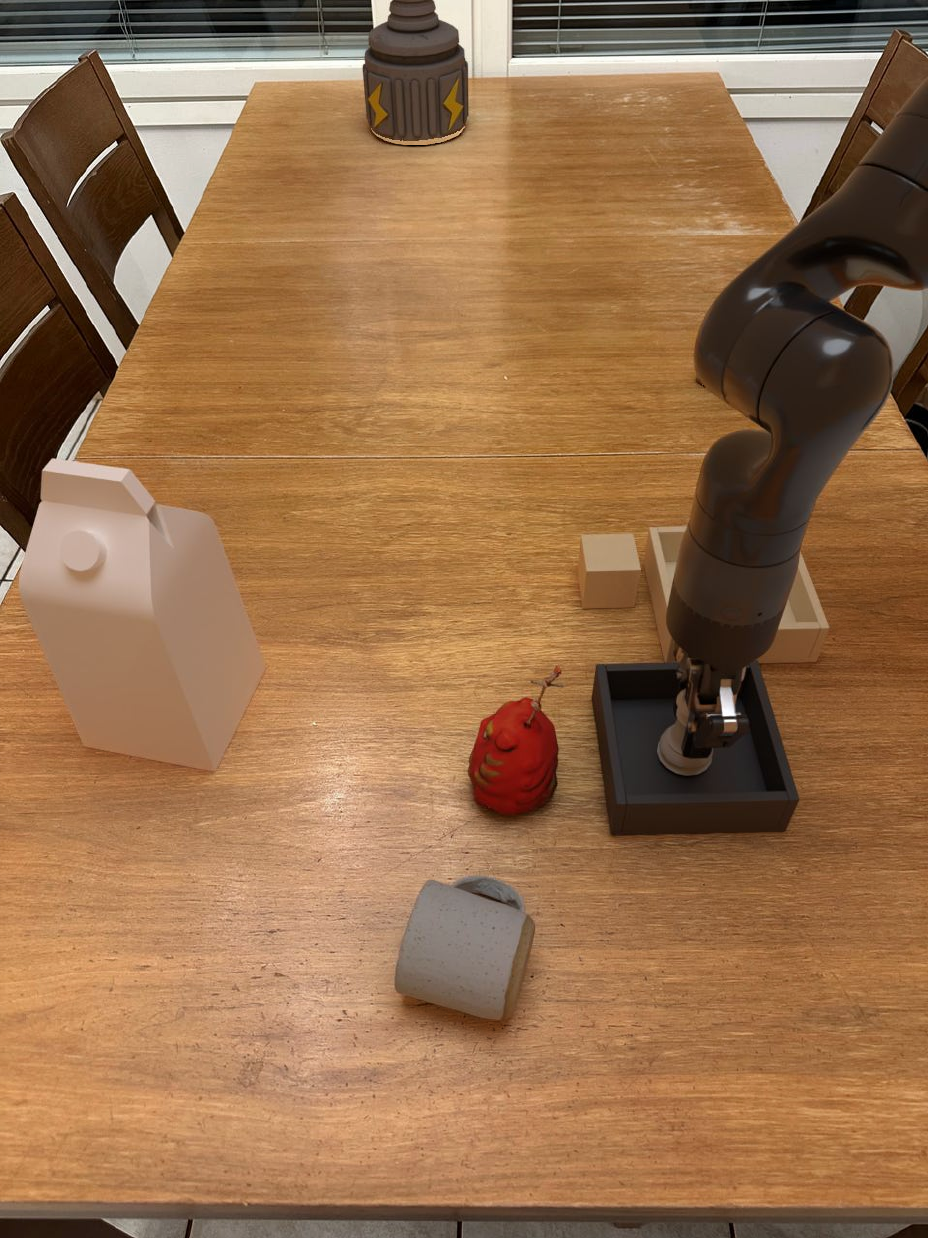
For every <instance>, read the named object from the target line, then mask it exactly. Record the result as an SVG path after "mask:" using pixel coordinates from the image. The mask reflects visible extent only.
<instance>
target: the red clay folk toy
mask: <svg viewBox="0 0 928 1238" xmlns="http://www.w3.org/2000/svg"><path fill="white" fill-rule="evenodd" d="M550 673H551V674H550V675H549V677H545V678H543V680H542V682H538V681H534V680H530V683H532V684H534V685H539V686H541V687H542V688H541V692H540V694H539V695H538V698H537V699H533V698H531V697H527V696H526V697H523V698H520V699H519V700H515V701H513V700H510V701H507V702H505V703H503V704H502V705H501V706H500V707H499V708H498V709H497V710H496V711H495V712H494V713H493V714H491V715H489V716H487V717H484V718H483V719H482V720H481V721H480V725H479V727H478V728H479V729H478V732H477V736H476V739H475V741H474V745H473V747H472V750H471V752H470V755H469V757H468V768H467V776H468V777H469V778H470V782H471V784H472V785H473V795H472V796H473V799H474V802H475V803H476V805H477V806H479V807H481V808H485V809H491V810H492V811H494V812H496V813H497V814H500V815H503V816H505V815H506V816H512V815H513V816H514V815H519V814H523V813H527V812H529V811H530V810H532V809H534V808H536V807H537V806H541V805H545V804H547V803H548V802H549V801H550V800H551V798H552V797H553V795H554V794H555V791H556V789H557V786H558V776H557V770H558V766H559V749H560V748H559V742H558V738H557V732H556V728H555V724H554V723H553V722H552V720H551V719H550V718H549V717H548V716H547V714H546V713H545V712H544V711H542V703H541V701H542V698H543V695H544V693H545V691H546V689H547V688H549V687H555V688H564V685H563V683H553V682H554V681H555V680H556V679H557V678H559V677H561V675H562V668H561V667H559V666H558V665H556V666H555V667H554V668H552V670H551V672H550Z"/></svg>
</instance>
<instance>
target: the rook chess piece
mask: <svg viewBox="0 0 928 1238" xmlns="http://www.w3.org/2000/svg"><path fill="white" fill-rule="evenodd" d="M685 693H686V689H684V690H682V691H681V692H680V693H679V695H678V696H677V701H676V703H677V706H678V709H677V713H676V715H677V720H676V722H675V724H673V725H672V726H671V727H669V728H667V729H666V731H665V732H664V733H663V735H662V736H661V738H660V741H659V743H658V749H657V752H658V755H659V759H660V761H661V762H662V763H663V764H664V765H665V766H666V768H668V769H669V770H671V771H673V772H675V773H677V774H681V775H686V776H689V775H697V774H699V773H701V772H703V771H705V770H707V768H708V767H709V765H710V764H711V762H712V756H713V749H712V752H711V754H710V755H709V757H708V758H701V759H689V758H685V757H683V754H682V750H681V746H682V742H683V738H684V734H685V731H686V727H687V722H688V716H689V711H688V708H687V705H686V701H685ZM706 713H715V712H704V713H701V714H700V717H705V714H706Z"/></svg>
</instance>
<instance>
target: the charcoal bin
mask: <svg viewBox="0 0 928 1238" xmlns="http://www.w3.org/2000/svg"><path fill="white" fill-rule="evenodd" d="M677 669H678V665H677V662H666V663H665V662H630V663H629V662H628V663H627V662H626V663H596V664H595V670H594V677H593V684H592V693H591V705H592V711H593V718H594V724H595V732H596V739H597V747H598V748H597V749H598V755H599V763H600V768H601V769H600V770H601V776H602V783H603V790H604V798H605V805H606V813H607V820H608V826H609V827H608V828H609V834H610V836H645V835H647V836H649V835H689V834H691V835H692V834H693V835H694V834H728V833H729V834H733V833H770V832H771V833H774V832H786V830H787V828H788V826H789V824H790V823H791V820H792V817H793V815H794V814H795V811H796V809H797V806H798V804H799V802H800V796H799V793H798V790H797V787H796V783H795V780H794V777H793V773H792V770H791V766H790V763H789V759H788V757H787V753H786V750H785V747H784V743H783V740H782V736H781V733H780V730H779V729H780V728H779V726H778V723H777V719H776V716H775V714H774V713H775V712H774V710H773V706H772V703H771V700H770V696H769V693H768V689H767V687H766V684H765V680H764V677H763V673H762V670H761V667H760V663H758V660H755V661H753V662H751V663H750V664H748V665H747V666H746V671H745V676H744V679H743V681H741V688H740V690H739V692H738V693H737V699H736V704H735V712H740V713H741V715H745V714H746V715H747V717H748V720H749V728H748V731H747V732H746V733H745V734H744V735H743V736H742V737H741V738H739V739H738V740H737V741H736V742H735V743H734V744H733V745H731V746H730V747H728V748H713V756H712V762H711V764H710V765H709V767H708V768H707V770H705V771H703V772H701V773H699V774H697V775H689V776H686V775H681V774H677V773H675V772H673V771H671V770H669V769H668V768H666V766H665V765H664V764H663V763H662V762H661V761H660V759H659V755H658V752H657V749H658V743H659V741H660V738H661V736H662V735H663V733H664V732H665V731H666V729H667V728H669V727H671V726H672V725H673V724H675V722H676V720H677V718H676V717H675V716H674V712H673V705H674V701H675V697H676V693H677V689H678V684H679V683H678V681H677V679H676V673H677Z"/></svg>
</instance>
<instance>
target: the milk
mask: <svg viewBox="0 0 928 1238" xmlns="http://www.w3.org/2000/svg"><path fill="white" fill-rule="evenodd" d="M40 500H41V501H40V502H39V504H38V508H37V510H36V515H35V518H34V521H33V525H32V528H31V532H30V536H29V539H28V542H27V545H26V549H25V553H24V556H23V559H22V563H21V567H20V571H19V577H18V585H17V587H18V595H19V600H20V602H21V605H22V607H23V609H24V613H25V614H26V616H27V619H28V620H29V624H30V625H31V627H32V630H33V632H34V635H35V638H36V639H37V642H38V644H39V646H40V648H41V651H42V653H43V656H44V658H45V660H46V662H47V665H48V667H49V670H50V673H51V675H52V676H53V679H54V681H55V683H56V685H57V688H58V690H59V693H60V695H61V697H62V700H63V702H64V704H65V706H66V709H67V711H68V713H69V716H70V718H71V720H72V723H73V725H74V727H75V729H76V732H77V734H78V737H79V739H80V741H81V744H82V746H83V747H84V748H90V749H94V750H100V751H105V752H108V753H109V752H110V753H114V754H120V755H126V756H130V757H135V758H142V759H145V760H150V761H156V762H162V763H166V764H172V765H176V766H180V767H181V766H182V767H187V768H192V769H197V770H202V771H207V772H212V773H217V771H218V769H219V766H220V765H221V763H222V761H223V758H224V756H225V755H226V752H227V751H228V748H229V746H230V743H231V742H232V739H233V738H234V737H235V736H234V735H235V733H236V732H237V729H238V727H239V725H240V723H241V721H242V719H243V717H244V716H245V713H246V711H247V708H248V707H249V705H250V702H251V700H252V698H253V696H254V694H255V692H256V690H257V688H258V686H259V684H260V682H261V680H262V678H263V675H264V673H265V671H266V669H267V665H266V662H265V658H264V657H263V654H262V650H261V648H260V645H259V643H258V640H257V637H256V635H255V632H254V629H253V626H252V622H251V620H250V618H249V617H250V616H249V614H248V612H247V609H246V606H245V603H244V600H243V598H242V595H241V592H240V589H239V586H238V583H237V580H236V578H235V575H234V573H233V570H232V567H231V564H230V561H229V559H228V555H227V553H226V550H225V547H224V543H223V541H222V539H221V536H220V533H219V530H218V527H217V525H216V523H215V521H214V519H213V518H212V517H211V516H210V515H209V514H206V513H204V512H202V511H198V510H193V509H188V508H182V507H177V506H171V505H165V504H160V503H156V501H155V499H154V498H153V496H152V495H151V493H149V491H148V490H147V489H146V487H145V486H144V485H143V483H142V482H141V481H140V480H139V478H137V476H136V475H135V473H134V472H133V471H132V469H130V468H125V467H116V466H111V465H110V466H109V465H102V464H96V463H89V462H82V461H74V460H67V459H66V460H65V459H59V458H53V457H52V458H51V459H50V460H49V461H48V463H46V465H45V466H44V468H42V470H41V482H40Z"/></svg>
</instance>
